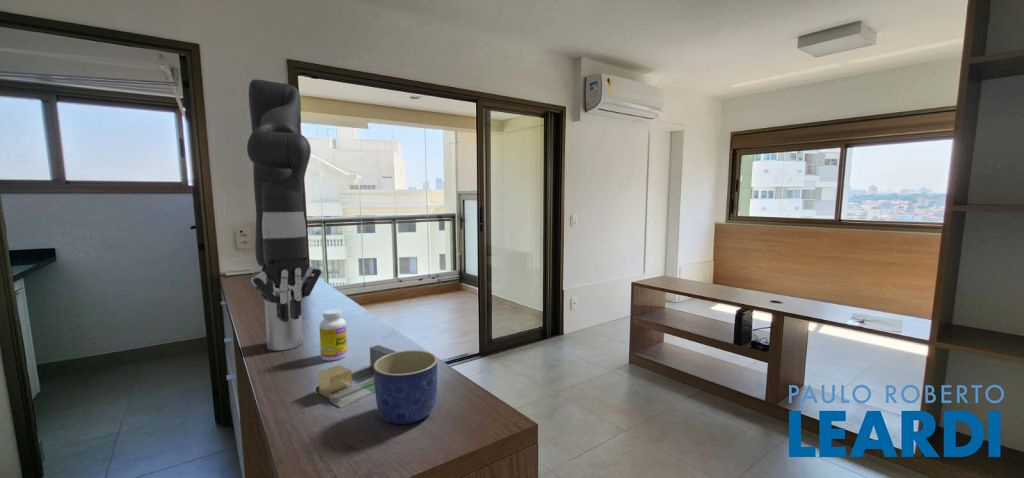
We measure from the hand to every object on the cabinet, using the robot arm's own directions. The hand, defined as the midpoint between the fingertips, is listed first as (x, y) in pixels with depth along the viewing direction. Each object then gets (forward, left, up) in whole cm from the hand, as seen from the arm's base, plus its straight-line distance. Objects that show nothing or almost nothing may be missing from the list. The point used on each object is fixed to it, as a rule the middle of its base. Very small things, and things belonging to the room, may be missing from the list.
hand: (289, 319), depth 81 cm
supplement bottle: (-20, +20, -19) cm, 34 cm away
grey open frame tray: (+2, +14, -19) cm, 24 cm away
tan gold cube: (+2, +9, -19) cm, 21 cm away
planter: (+20, +13, -19) cm, 31 cm away
